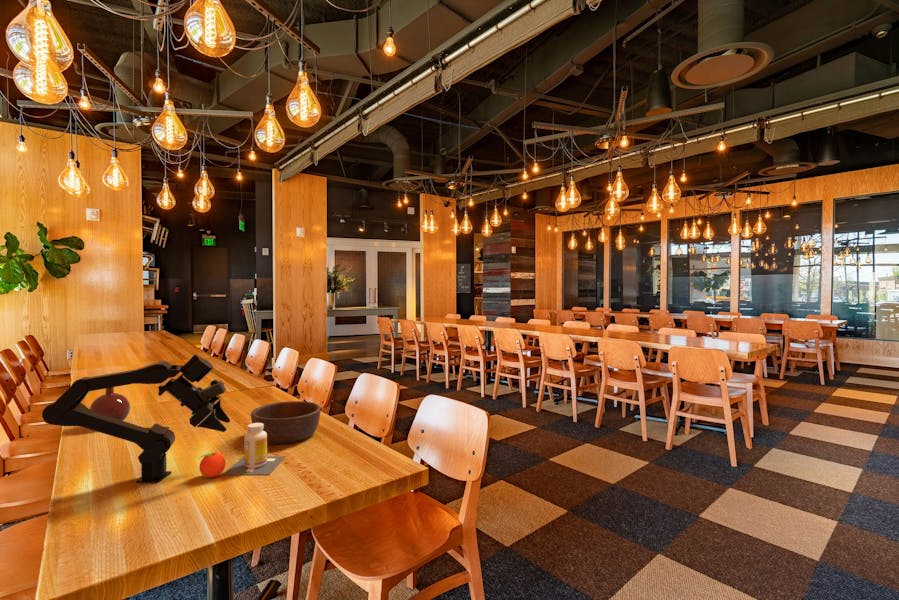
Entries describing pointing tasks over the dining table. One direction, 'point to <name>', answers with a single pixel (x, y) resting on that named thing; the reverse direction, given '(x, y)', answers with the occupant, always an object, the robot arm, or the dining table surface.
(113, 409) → the round-bottom flask
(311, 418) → the wooden bowl
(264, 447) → the supplement bottle
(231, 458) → the dining table surface
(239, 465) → the letter tile
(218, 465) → the clementine
